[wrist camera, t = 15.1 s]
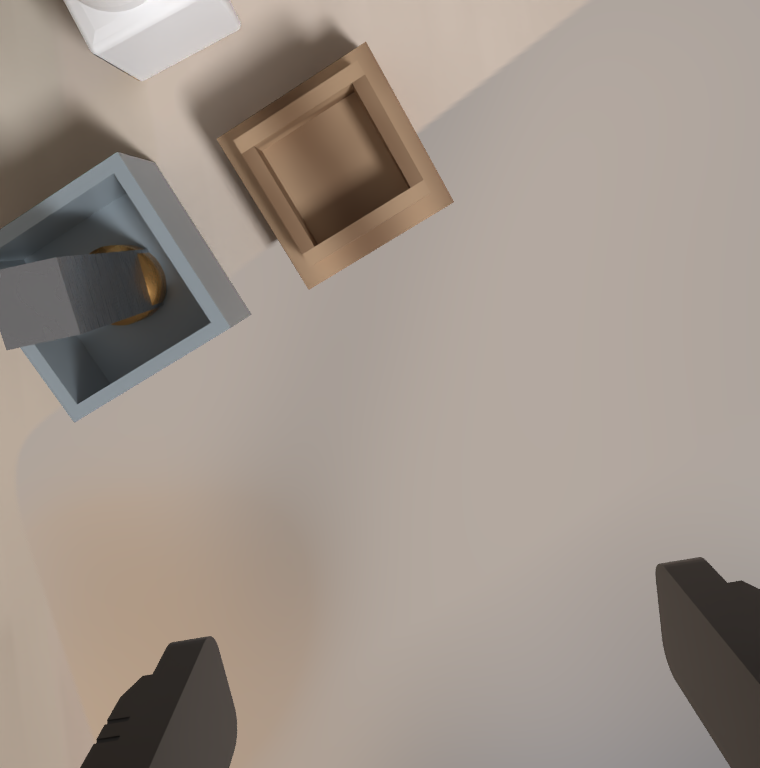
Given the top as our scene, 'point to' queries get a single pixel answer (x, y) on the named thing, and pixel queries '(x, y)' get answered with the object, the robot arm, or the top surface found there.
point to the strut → (78, 294)
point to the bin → (123, 227)
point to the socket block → (336, 167)
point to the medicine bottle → (151, 30)
